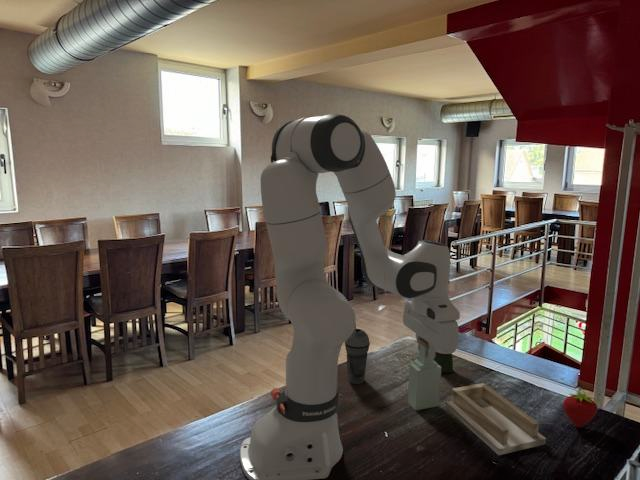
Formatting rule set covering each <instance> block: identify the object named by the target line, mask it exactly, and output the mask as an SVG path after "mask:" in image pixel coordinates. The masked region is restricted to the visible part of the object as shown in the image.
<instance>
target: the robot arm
mask: <svg viewBox="0 0 640 480" xmlns="http://www.w3.org/2000/svg"><path fill="white" fill-rule="evenodd" d="M273 135H274V136H273V137H272V141H271V142H272V143H271V156H270V162H271V163H270V164H268V165H267V166H265V168H264V169H263V170H262V171H261V174H260V195H261V203H262V204H261V206H262V211H263V216H264V217H263V218H264V220H265V221H264V222H265V225H266V229H267V235H268V239H269V243H270V247H271V251H272V257H273V261H274V262H273V263H274V271H275V272H274V273H275V274H274V275H275V285H276V286H275V287H276V292H275V295H276V301H277V303H278V306H279V309H280V310H281V313H283V314H284V316H285V317H286V318H287V319H288V320H289V321H290V323H291V326H292V328H293V330H292V331H293V339H292V343H291V348H290V351H288V353H287V355H286V356H285V388H284V389H283V391H282V392H281V391H280V389H279V388H278V387H273V388H272V389H271V391H270V396H271V397H272V399H273V400H274V401H276V406H275V407H273V408H272V409H271V410H269V411H268V412H267V413H265V414H264V415H263V416H261V417H260V418H259V419H257V420H256V421H255V423H254V424H253V426H252V429H251V434H250V437H247V438H245V439H244V440H243V441H242V442H241V445H240V447H239V448H240V449H239V461H240V466H241V469H242V472H243V474H244V475H245V476H246V477H247V479H248V480H319V479H327V478H328V477H329V475H330V473H331V472H332V468H333V467H334V466H336V464H337V463H338V462H339V461H340V460H341V458H342V457H343V456H342V455H343V452H344V448H343V445H342V441H341V438H340V436H341V435H340V433H339V432H340V431H339V430H340V429H339V425H338V423H339V422H338V415H339V408H340V395H339V394H340V393H339V389H338V367H339V356H340V353H341V349H342V345H343V344H344V343H345V341H346V340H347V339H348V338H349V337H350V335H351V334H352V332H353V330H354V327H355V322H356V320H357V319H356V313H355V311H354V309H353V307H352V305H351V304H350V302H349V301H348V300H347V298H346V297H345V295H344V294H343V293H341V292H340V291H339V290H337V289H336V288H335V287H333V286H332V285H330V283H329V282H328V281H327V277H326V275H325V274H326V273H325V257H326V254H327V253H328V248H329V247H328V242H327V241H328V240H327V236H326V232H325V226H324V222H323V216H322V212H321V206H320V202H319V198H318V195H317V181H318V177H319V174H324V173H333V174H334V175H335V177H336V179H337V181H338V184H339V187H340V188H341V192H342V194H343V196H344V199H345V202H346V204H347V213H348V218H349V221H350V226H351V228H352V233H353V235H354V238H355V241H356V244H357V247H358V250H359V254H360V258H361V259H360V260H361V273H362V277H363V279H364V281H365V282H366V283H367V284H368V285H370V286H372V287H375V288H377V289H381V290H384V291H387V292H388V293H391V294H394V295H395V296H399V297H401V298H405V299H407V300H406V301H405V303H404V306H403V307H404V308H403V312H402V313H403V314H402V322H403V326H405V327H406V328H408V329H409V330H411V332H413V333H414V334H415V338H416V343H417V350H418V351H419V347H420V343H419V342H418V338H423V339H424V340H426V341H427V342H428V343H429V346H430V348H429V350H426V356H427V357H428V358H429V359H434V358H435V352H436V351H437V349H438V350H439V351H441V352H442V353H448V352H453V351H455V349H456V350H457V347H458V342H459V341H458V340H459V324H458V322H457V320H460V318H461V313H460V311H459V310H458V308H457V307H456V306H455V305H454V304H453V302H452V301H451V300H450V298H449V289H448V282H449V279H450V275H451V253H450V249H449V247H448V246H447V245H446V244H445V243H443V242H439V241H433V240H431V239H430V240H429V239H420V240H418V241H417V244H416V245H415V246H414V248H413V249H412V250H410V251H408V252H407V253H405V254H399V253H396V252H393V251H392V250H390V249H389V248H388V247H386V245H385V244H384V242H383V238H382V235H381V232H380V228H379V225H378V219H379V218H380V217H382V216H383V215H385V214H387V212H388V211H389V210H390V209H391V208H392V206H393V205H394V204H395V203H394V202H395V199H396V195H397V194H396V188H395V183H394V180H393V177H392V174H391V172H390V169H389V167H388V165H387V162H386V160H385V157H384V155H383V153H382V152H381V150H380V148H379V146H378V144H377V142H376V141H375V140H374V138H373V137H372V136H371V134H370V133H368V132H367V131H365V130H361V128H360V127H359V126H358V124H357V123H356V122H355V121H354V120H353V119H351V118H350V117H349V116H347V115H344V114H339V113H328V114H324V115H309V116H308V115H307V116H304V117H302V118H299V119H296V120H291V121H289V122H286V123H284V124H282V125H281V126H280V127H279V128H278V129H277V130H276V132H275V134H273ZM455 352H456V351H455Z"/></svg>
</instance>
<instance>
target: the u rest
mask: <svg viewBox="0 0 640 480" xmlns="http://www.w3.org/2000/svg"><path fill="white" fill-rule="evenodd" d="M450 398H451V399H450V400H448V401H446V402H445V408H446V409H447V410H448V411H450V412H451V414H453V415H454V416H455V417H456V418H457V419H458V420H459V421H460V422H461V423H463V424H464V425H465V426H466V428H468V429H469V430H470V431H471V432H472V433H473V434H474V435H476V436H477V437H478V438H479V439H480V440H481V441H482V442H483V443H484V444H486V445H487V446H488V447H489V448H490V449H491V450H492V451H493V452H495V454H496V455H497V456H502V455H506V454H510V453H514V452H520V451H523V450H526V449H530V448H531V449H532V448H536V447H541V446H544V445H546V441H547V438H546V437H545V436H544V435H542V434H541V433H540V432H539V427H540V422H538V421H537V420H536V419H534V418H533V417H532V416H530V415H529V414H527V413H526V412H525V411H523V410H522V409H520V408H519V407H517V405H515V404H513V403H512V402H510V401H509V400H508V399H506V398H505V397H504V396H502V395H501V394H500V393H499V392H497V391H495V390H494V389H492V387H491V386H489V385H487V384H486V383H484V382H483V383H482V382H481V383H475V384H470V385H464V386H460V387H452V389H451V395H450Z"/></svg>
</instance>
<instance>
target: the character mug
mask: <svg viewBox="0 0 640 480" xmlns="http://www.w3.org/2000/svg"><path fill="white" fill-rule="evenodd" d="M456 350H457V348H456V349H455V351H453V352H448V353H442V352H441V351H439V350H438V349H437V351H436V352H435V358H434V359H433V360H434V361H435V362H436V363H437V364H438V365H439V366H441V373H444V374H445V373H452V372H453V371H454V362H453V361H454V360H453V354H454V353H455V352H456Z"/></svg>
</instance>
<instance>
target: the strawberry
mask: <svg viewBox="0 0 640 480" xmlns="http://www.w3.org/2000/svg"><path fill="white" fill-rule="evenodd" d="M581 389H582V391H583V393H584V394H583V393H582V392H581V391H579V390H578V391H577V394H574V393H573V394H572V393H569V394H568V395H569V396H568V397H566V398H564V401H563V409H564V413H565V414H566V416H567V417H568V419H569V420H570V421H571V422H572V423H573V425H574V426H575V427H576V428H582V427H584V426H586V424H589V422H590V421H592V420H593V419H594V418H595V416H596V414H597V413H598V405H597V404H596V402H595V401H594V400H595V398H593V397H591V396H588V395H587V394H586V393H585V391H584V388H583V387H581Z"/></svg>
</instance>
